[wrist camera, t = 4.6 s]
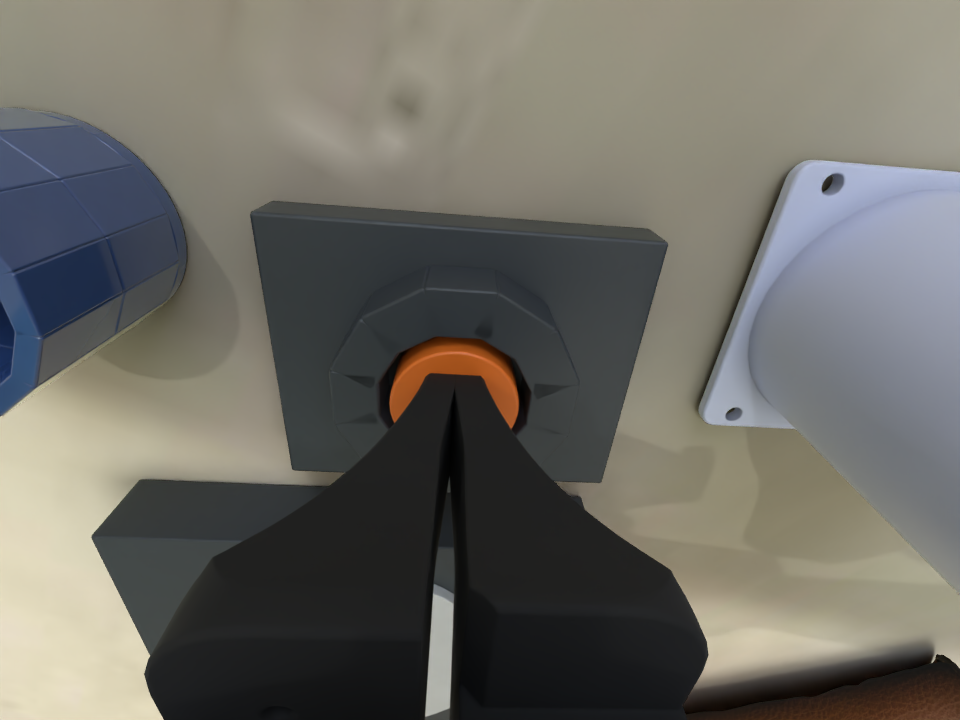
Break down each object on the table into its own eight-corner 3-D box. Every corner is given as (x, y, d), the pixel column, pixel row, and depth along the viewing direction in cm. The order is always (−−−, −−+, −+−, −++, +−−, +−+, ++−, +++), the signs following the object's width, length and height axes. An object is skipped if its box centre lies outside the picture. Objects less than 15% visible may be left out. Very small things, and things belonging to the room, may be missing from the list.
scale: (581, 496, 17) (600, 564, 15) (537, 667, 23) (545, 737, 21) (139, 478, 16) (79, 547, 14) (210, 661, 22) (177, 733, 20)
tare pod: (650, 228, 12) (699, 263, 10) (592, 455, 16) (615, 523, 14) (270, 200, 12) (214, 229, 9) (305, 442, 16) (272, 511, 13)
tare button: (520, 326, 12) (527, 356, 11) (507, 425, 14) (511, 461, 12) (396, 319, 12) (387, 348, 10) (398, 419, 13) (390, 456, 12)
